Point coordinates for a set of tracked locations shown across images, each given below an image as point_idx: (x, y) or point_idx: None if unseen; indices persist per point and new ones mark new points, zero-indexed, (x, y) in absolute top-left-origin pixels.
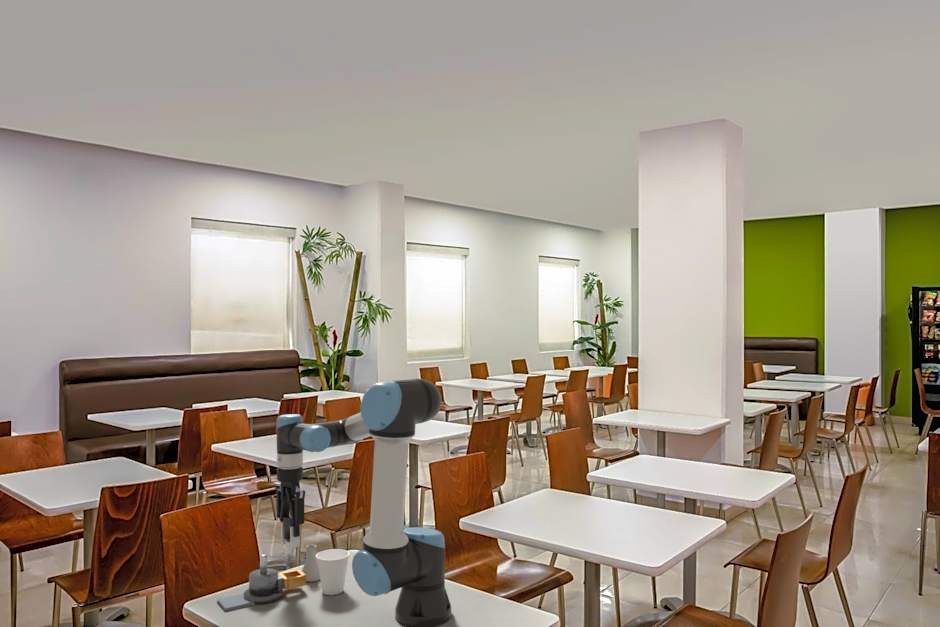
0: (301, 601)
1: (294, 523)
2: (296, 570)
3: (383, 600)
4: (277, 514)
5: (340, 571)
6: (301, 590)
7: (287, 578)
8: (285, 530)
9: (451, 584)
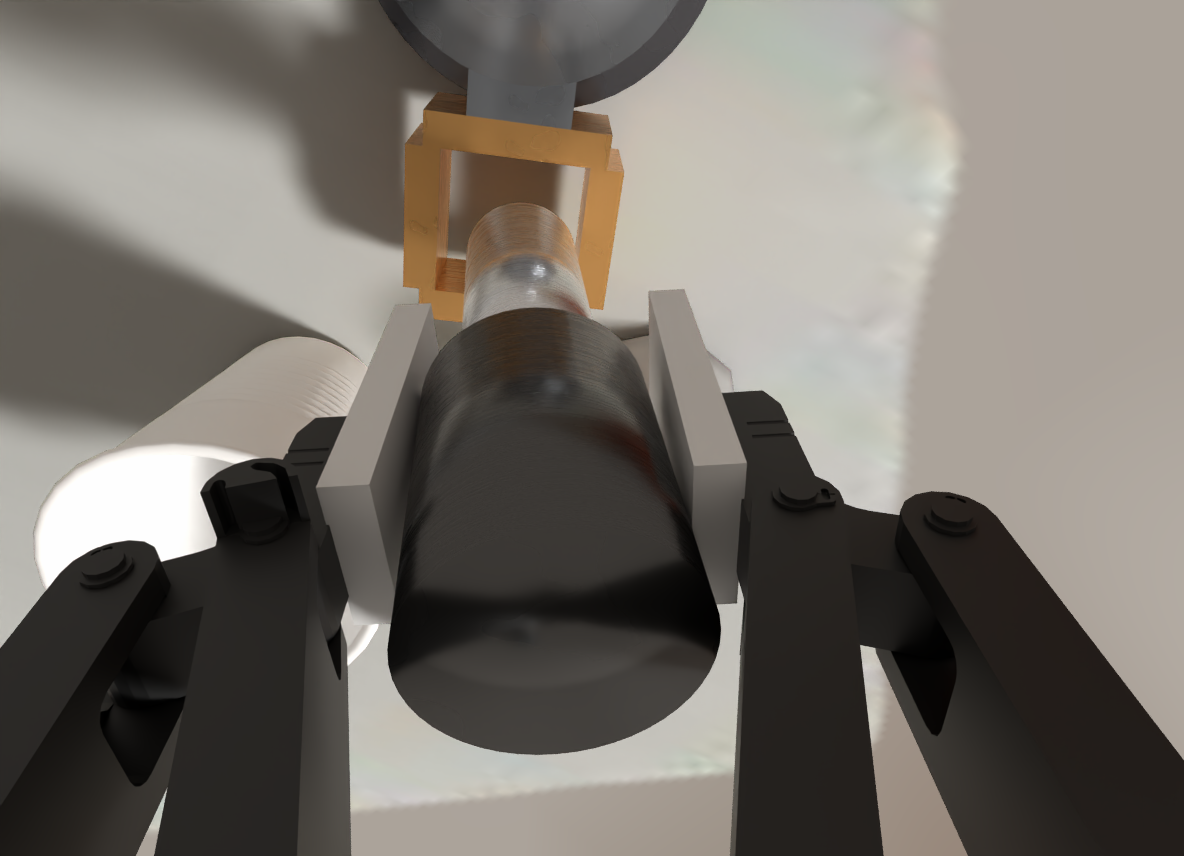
0: (248, 138)
1: (224, 559)
2: None
3: (6, 546)
4: (972, 546)
5: (136, 508)
6: None
7: (428, 143)
8: (493, 387)
9: None
